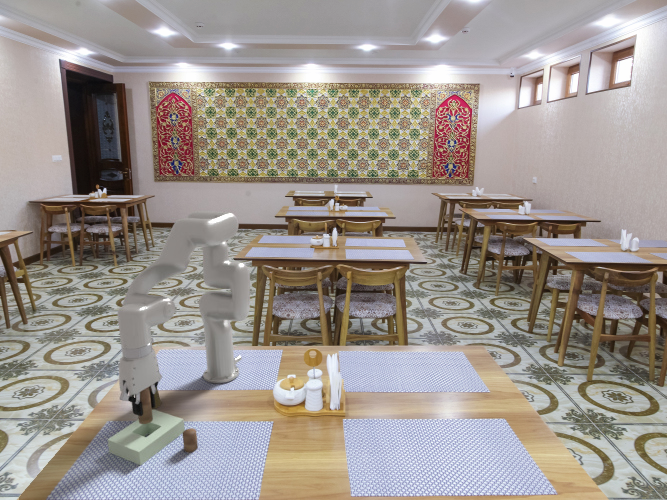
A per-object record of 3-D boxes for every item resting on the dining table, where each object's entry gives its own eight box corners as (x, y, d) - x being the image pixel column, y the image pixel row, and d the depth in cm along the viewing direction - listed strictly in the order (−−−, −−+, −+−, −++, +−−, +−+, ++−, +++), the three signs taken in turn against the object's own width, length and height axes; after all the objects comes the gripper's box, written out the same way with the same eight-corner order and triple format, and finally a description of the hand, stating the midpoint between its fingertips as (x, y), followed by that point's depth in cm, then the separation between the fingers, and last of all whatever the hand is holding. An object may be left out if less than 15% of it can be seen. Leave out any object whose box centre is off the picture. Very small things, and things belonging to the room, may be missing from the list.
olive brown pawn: (154, 411, 146) (150, 379, 143) (137, 409, 147) (133, 377, 144) (164, 400, 152) (161, 370, 149) (148, 398, 153) (144, 368, 150)
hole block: (154, 421, 141) (153, 409, 140) (184, 431, 135) (183, 419, 134) (109, 452, 127) (107, 439, 126) (140, 465, 121) (139, 452, 120)
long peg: (146, 415, 132) (141, 377, 129) (155, 418, 130) (151, 379, 127) (136, 422, 129) (131, 383, 126) (145, 425, 127) (140, 385, 124)
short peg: (190, 442, 130) (189, 427, 129) (200, 446, 129) (199, 430, 128) (181, 450, 127) (179, 434, 126) (191, 454, 126) (189, 437, 124)
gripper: (151, 335, 133) (157, 392, 138) (100, 359, 119) (109, 423, 123) (170, 340, 130) (176, 398, 134) (121, 365, 116) (129, 430, 120)
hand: (144, 409), depth 129 cm, fingers closed on long peg, 3 cm apart
